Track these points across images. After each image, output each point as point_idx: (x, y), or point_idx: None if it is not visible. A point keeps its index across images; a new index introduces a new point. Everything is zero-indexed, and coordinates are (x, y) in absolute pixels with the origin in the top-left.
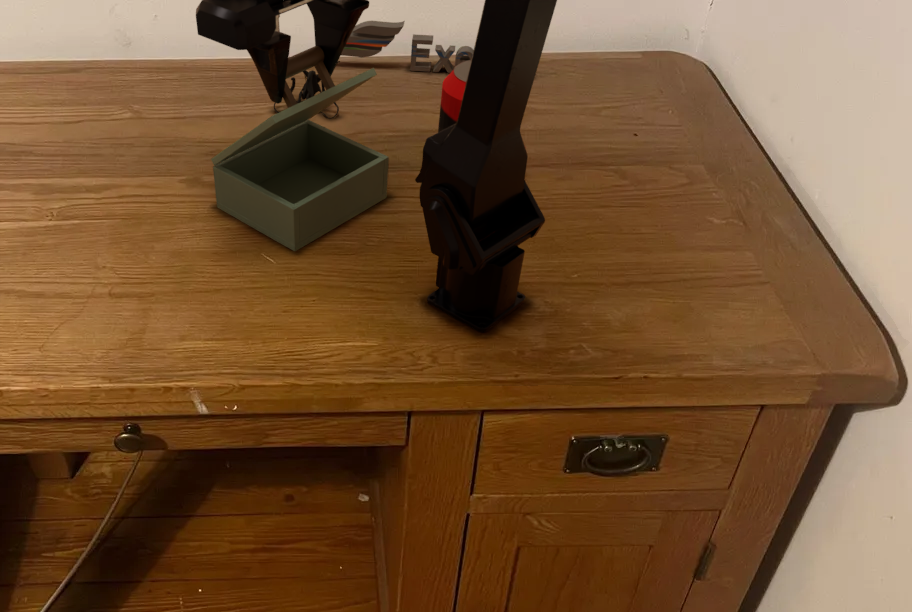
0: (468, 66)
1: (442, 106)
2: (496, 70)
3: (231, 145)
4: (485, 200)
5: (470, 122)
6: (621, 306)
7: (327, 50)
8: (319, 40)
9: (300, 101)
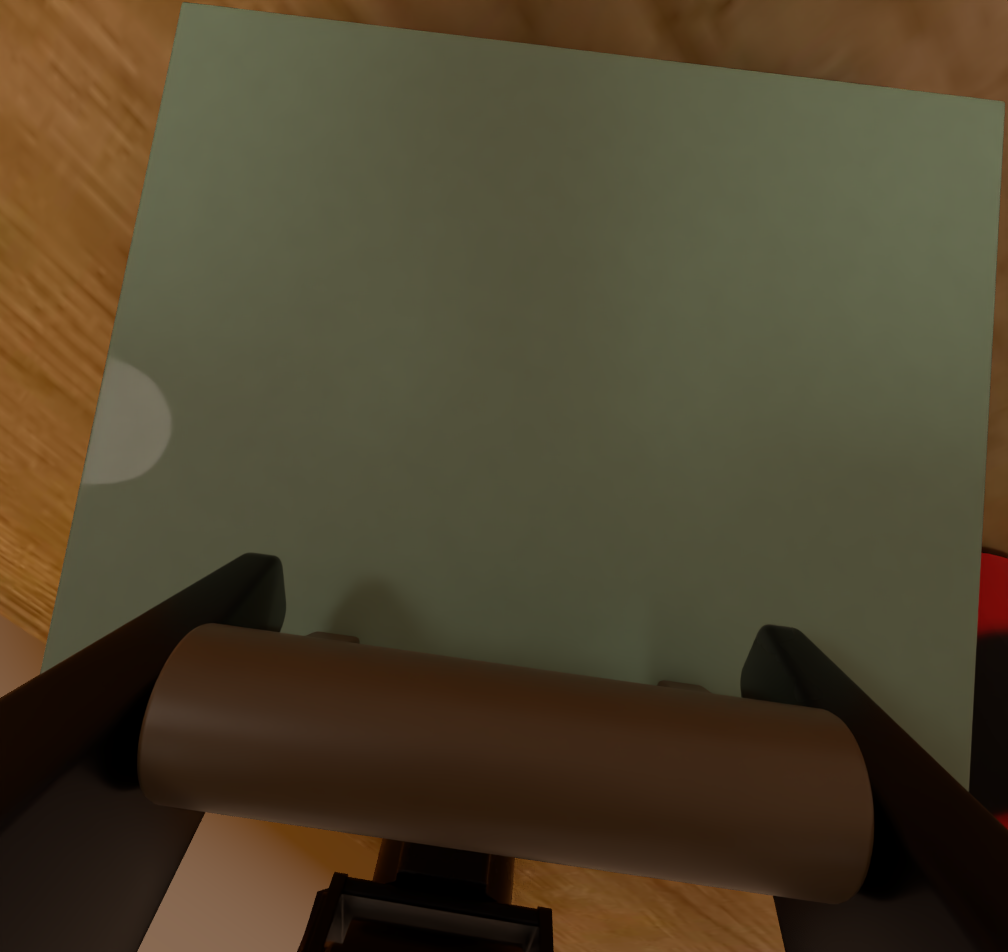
0: None
1: (1004, 825)
2: None
3: (129, 255)
4: None
5: None
6: (603, 892)
7: (830, 926)
8: (923, 949)
9: None
